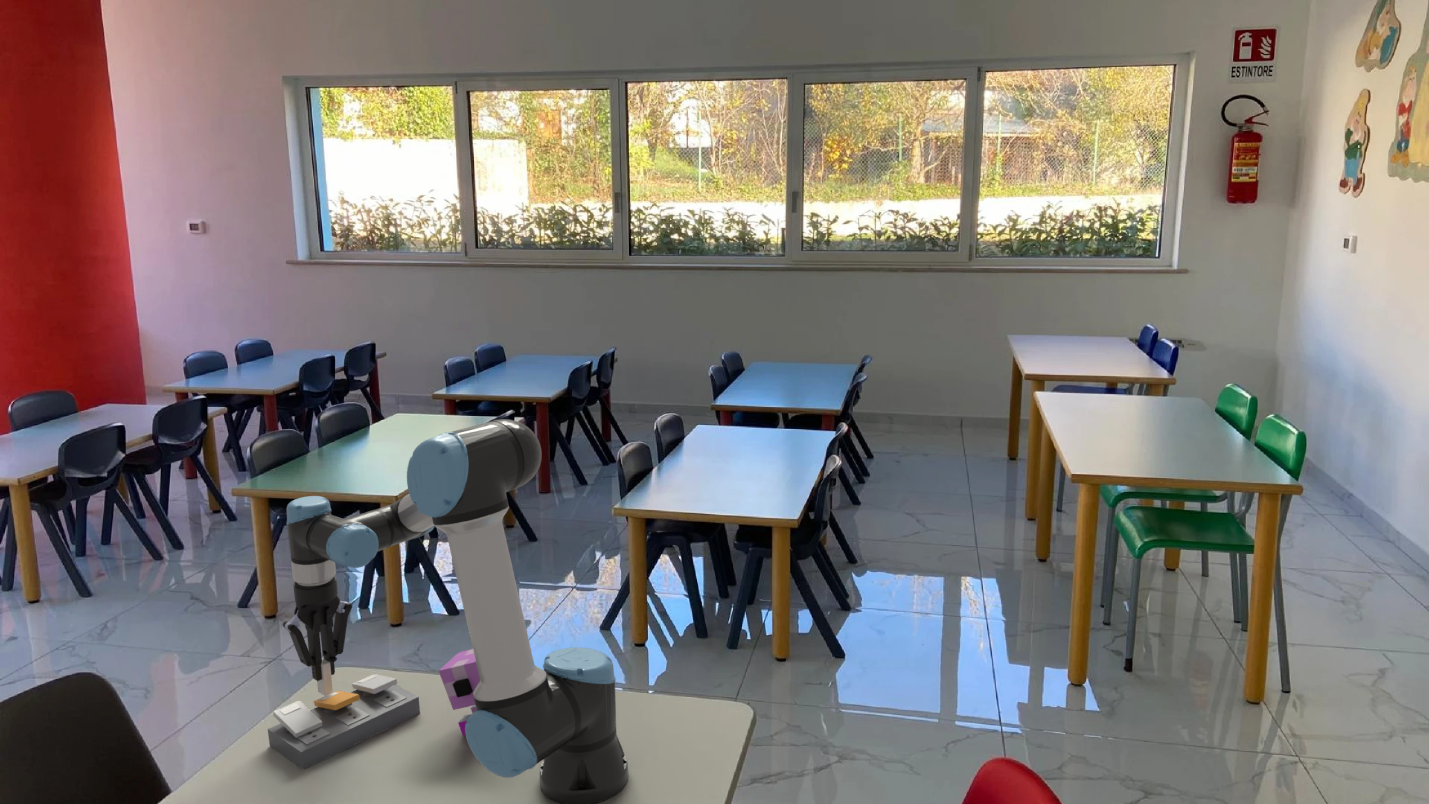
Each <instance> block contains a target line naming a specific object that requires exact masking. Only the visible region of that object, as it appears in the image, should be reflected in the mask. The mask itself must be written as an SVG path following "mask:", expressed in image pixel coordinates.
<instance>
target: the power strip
mask: <svg viewBox="0 0 1429 804" xmlns="http://www.w3.org/2000/svg"><path fill="white" fill-rule="evenodd" d="M350 693H354V694H359V697H360V700H358V701H355V702H353V703H351V704H349V705H346V706H344V707H342V708H340V709H338V710H331V709H326V708H321V707H315V708H312V709H309V710H310V711H311V712H312V713H313V714H315V715H316V716H317V717H318V718H319V719H320V720H321V721H322V726H321V727H319V728H317V729H315V730H312V731H310V732H308V733H306V734H304V735H301V736H299V737H297V738H296V737H295V736H294V735H293V734H292V733H291V732H290V731H288V730H287V729H286V728H285V727H284V726H283V725H282V724H281V723H280V722H279V723H278V724H276V725H273V726H271V727H269V728H267V733H268V734H267V735H268V742H269V747H270V748H272V749H274V751H276V752H277V753H279V754H280V755H281V756H283V757H285V759H287V760H289V761H290V762H291V763H292V764H294V765H296V766H297V767H298V768H300V769H301V770H304V771H305V770H306V769H309V768H310V767H312V766H315V765H317V764H318V763H321V762H323V761H325V760H327V759H328V758H331V757H333V756H335V755H337V754H339V753H341V752H343V751H346V750H348V749H349V748H351V747H353V746H355V745H357V744H359V743H361V742H364V741H366V740H369V738H372V737H374V736H376V735H378V734H380V733H382V732H385V731H386V730H388V729H390V728H392V727H394V726H397V725H399V724H400V723H402V722H405V721H407V720H410V719H411V718H413V717H414V716H417V715H419V714H421V709H420V708H421V707H420V697H419V696H418V695H417V694H415V693H413V692H411V691H409V690H407V689H405V688H403V687H402V686H401V685H400V686H399V685H398V684H396V685H393V686H391V687H389V688H387V689H385V690H382V691H380V692H378V693H376V694H372V693H369V692H365V691H361V690H357V689H354V690H353V691H350Z"/></svg>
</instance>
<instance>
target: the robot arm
mask: <svg viewBox="0 0 1429 804" xmlns="http://www.w3.org/2000/svg"><path fill="white" fill-rule="evenodd" d="M542 453H543V452H542V447H541V444H540V441H539V439H538V438H537V435H536V434H535V432H534V431H532V429H531V428H529V426H527V425H525V424H523V423H522V422H519V421H516V420H513V419H494V420H490V421H487V422H485V423H484V422H483V423H480V424H476V425H474V426H468V427H463V428H460V429H458V430H453V431H448V432H447V431H445V432H444V433H440V434H438V435H436V436H433V437H430V438H428V439H425V440H423V441H422V442H420V443H419V444H417V446H416V447H415V448H414V450H413V452H412V455H411V456H410V458H409V461H408V464H407V468H406V469H407V470H406V484H407V491H408V494H406V495H404V496H403V497H401V498H400V499H398V500H397V501H394V502H392V503H391V504H388V505H385V506H382V507H379V508H377V509H372V510H369V511H366V512H364V513H363V512H362V513H359V514H356V515H354V516H351V517H346V518H341V517H339V516H336V515H334V514H332V508H331V502H330V501H329V499H328V498H326V497H324V496H320V495H310V496H307V495H306V496H303V497H299V498H295V499H294V500H291V501H290V502H289V503H288V504H287V506H286V528H287V535H288V536H287V537H288V545H289V554H290V561H291V562H290V563H291V573H292V580H293V581H294V582H293V583H292V584H293V593H294V594H293V595H294V596H293V597H294V602H295V609H294V612H293V614H294V616H293V617H292V618H291V619H290V620H289V621H288V620H286V621H284V622H283V623H282V626H283V628H284V629H285V630H286V631H288V633H289V635H290V638H291V640H292V643H293V646H294V648H295V650H296V653H297V656H298V658H299V661H300V663H301V664H303V665H305V666H306V667H308V668H310V667H311V677H312V679H313V680H315V681H316V683H317V684H316V685H317V686H316V687H317V693H319V694H321V695H323V697H325V696H327V695H330V694H332V693H334V689H333V680H332V676H333V675H335V673H336V671H335V669H336V668H335V662H336V661H337V659H338V657H337V656H338V655H342V654H343V652H344V649H345V641H346V633H347V627H348V620H349V619H348V618H349V615H350V612H351V610H352V608H353V605H352V604H351V603H349V602H348V601H345V600H341V599H340V597H339V596H338V580H337V579H338V578H337V576H336V574H337V568H336V564H337V565H340V566H343V567H349V568H352V569H358V568H362V567H365V566H367V565H369V563H370V562H371V561H372V560H373V559H375V557H376V555H377V553H378V552H380V551H382V550H385V549H388V548H391V547H394V546H395V545H399V544H402V543H404V542H407V541H410V540H413V539H418V538H420V537H422V536H424V535H426V534H429V533H430V532H432V531H433V530H434V529H435V528H436V529H438V530H440V531H441V532H442V533H444V534H445V535H446V539H447V542H448V546H449V551H450V556H451V560H452V563H453V564H452V565H453V568H454V573H455V577H456V581H457V586H458V591H459V595H460V599H461V602H462V606H463V607H462V608H463V612H464V616H465V619H466V620H465V621H466V624H467V628H468V632H469V636H470V641H471V646H472V649H473V651H474V655H475V660H476V664H477V668H478V673H479V677H480V682H479V684H478V685H477V687H476V688H475V690H474V692H473V696H474V701H475V705H476V709H477V711H475V712H473V713H472V712H471V715H470V714H469V715H470V716H469V718H468V719H467V723H466V725H465V734H466V735H465V738H466V742H467V744H468V747H469V748H470V750H471V753H472V754H473V755H474V757H475V758H476V760H477V761H478V763H480V764H481V765H482V766H483V767H484V768H485V769H486V770H487V771H489V772H491V773H492V774H494V775H496V776H498V777H501V778H505V779H506V778H509V779H511V778H514V777H517V776H520V775H521V774H523V773H525V772H526V771H528V770H531V769H534V768H535V766H537V764H539V763H540V762H541V764H540V766H539V784H540V785H539V786H540V789H541V791H542V793H543V794H544V795H545V796H546V797H548V798H549V799H550V800H553V801H555V802H557V803H561V804H596V803H600V802H603V801H605V800H607V799H608V800H609V799H610V798H611V797H614V796H615V795H617V794H618V793H619V792H621V790H623V788H624V787H625V786H626V784H627V783H628V778H629V764H628V760H627V759H628V758H627V757H626V755H625V752H624V749H623V747H622V744H621V742H620V739H619V737H618V735H617V711H616V710H617V707H616V705H617V703H616V677H615V671H614V663H613V660H612V659H611V657H609V655H607V654H606V653H604V652H602V651H601V650H597V649H593V648H588V647H575V646H574V647H563V648H560V649H557V650H554V651H551V652H550V653H548V654H547V655H546V656H545V658H544V661H543V664H542V668H543V669H542V668H540V667H538V666H537V665H535V661H534V657H533V653H532V648H531V643H530V639H529V634H528V630H527V627H526V626H527V625H526V621H525V617H524V613H523V608H522V604H521V599H520V596H519V590H518V586H517V582H516V578H515V573H514V569H513V564H512V560H511V559H512V558H511V556H510V551H509V546H508V542H507V541H508V540H507V538H506V533H505V532H506V531H505V530H504V524H503V518H504V516H505V515H506V514H507V512H508V511H509V509H510V506H509V500H508V497H507V493H509V492H511V491H514V490H516V489H518V488H520V487H522V486H524V485H526V484H527V483H529V481H531V480H532V479H533V478H534V477H535V475H537V472H538V470H539V469H540V467H541V463H542ZM333 618H334V619H333ZM300 622H301V623H302V624H304V627H305V631H306V637H307V643H306V640H305V637H304V635H303V633H302V631H301V630H300V629H301V624H300Z"/></svg>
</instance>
